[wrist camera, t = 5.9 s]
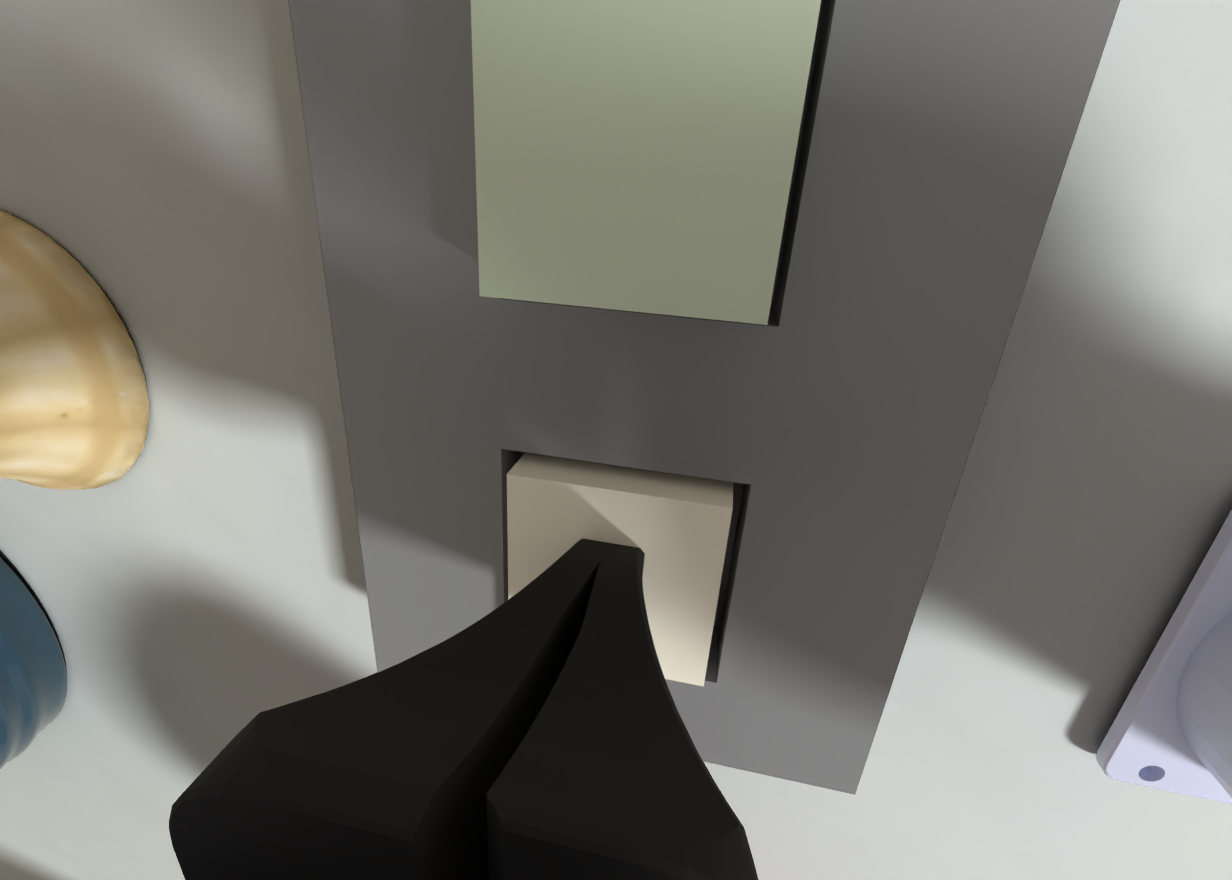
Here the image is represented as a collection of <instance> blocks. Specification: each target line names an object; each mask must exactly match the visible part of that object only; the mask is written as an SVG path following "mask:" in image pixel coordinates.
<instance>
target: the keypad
mask: <svg viewBox="0 0 1232 880" xmlns="http://www.w3.org/2000/svg"><path fill="white" fill-rule="evenodd" d="M288 1H289V9H290V16H291V24H292V31H293V39H294V46H295V54H296V61H297V69H298V76H299V84H300V91H301V99H302V106H303V114H304V122H305V129H306V137H307V144H308V152H309V159H310V167H311V174H312V182H313V189H314V197H315V204H316V212H317V219H318V227H319V235H320V242H321V250H322V257H323V265H324V272H325V280H326V287H327V295H328V302H329V310H330V317H331V325H332V333H333V340H334V348H335V355H336V363H337V370H338V378H339V385H340V393H341V400H342V408H343V415H344V423H345V430H346V438H347V446H348V453H349V461H350V468H351V476H352V483H353V491H354V498H355V506H356V513H357V521H358V528H359V536H360V544H361V551H362V559H363V566H364V574H365V581H366V589H367V596H368V604H369V611H370V619H371V626H372V634H373V641H374V649H375V657H376V664H377V672H380V671H382V670H385V669H387V668H389V667H392V666H394V665H396V664H399V663H401V662H403V661H405V660H407V659H409V658H411V657H413V656H415V655H417V654H419V653H421V652H423V651H425V650H427V649H429V648H431V647H433V646H435V645H437V644H439V643H441V642H443V641H445V640H447V639H449V638H450V637H452V636H454V635H456V634H457V633H459V632H461V631H462V630H464V629H466V628H468V627H469V626H471V625H472V624H474V623H475V622H477V621H479V620H480V619H482V618H483V617H485V616H486V615H488V614H489V613H491V612H492V611H493V610H495V609H496V608H497V607H499V606H500V605H502V604H503V603H504V602H506V601H507V600H508V535H507V473H508V472H509V471H510V470H511V469H512V467H513V466H514V465H515V464H516V463H517V462H518V460H519V459H520V458H521V457H522V456H523V455H524V453H525V452H527V453H534V454H541V455H548V456H555V457H562V458H569V459H576V460H583V461H590V462H597V463H604V464H611V465H618V466H625V467H632V468H639V469H646V470H653V471H660V472H666V473H673V474H680V475H687V476H694V477H701V478H708V479H715V480H722V481H729V482H733V510H732V516H731V522H730V528H729V534H728V540H727V546H726V553H725V559H724V565H723V571H722V577H721V583H720V589H719V596H718V602H717V608H716V614H715V620H714V626H713V632H712V638H711V645H710V651H709V657H708V663H707V669H706V675H705V681H704V687H703V686H698V685H693V684H688V683H683V682H678V681H673V680H668V679H665V680H666V683H667V686H668V688H669V691H670V693H671V696H672V698H673V701H674V703H675V705H676V708H677V710H678V712H679V714H680V716H681V719H682V721H683V723H684V725H685V727H686V729H687V731H688V733H689V735H690V737H691V739H692V741H693V743H694V745H695V747H696V749H697V751H698V753H699V755H700V757H701V759H702V760H703V761H705V762H709V763H714V764H719V765H723V766H728V767H732V768H737V769H741V770H746V771H750V772H755V773H759V774H764V775H768V776H773V777H778V778H782V779H787V780H791V781H796V782H800V783H805V784H809V785H814V786H818V787H823V788H827V789H832V790H837V791H841V792H846V793H850V794H855V793H856V790H857V787H858V784H859V781H860V778H861V775H862V772H863V769H864V766H865V763H866V760H867V757H868V754H869V751H870V748H871V745H872V742H873V739H874V736H875V733H876V730H877V727H878V724H879V721H880V718H881V715H882V712H883V709H884V706H885V703H886V700H887V697H888V694H889V691H890V688H891V685H892V682H893V679H894V676H895V673H896V670H897V667H898V664H899V661H900V658H901V655H902V652H903V649H904V646H905V643H906V640H907V637H908V634H909V631H910V628H911V625H912V622H913V619H914V616H915V613H916V610H917V607H918V604H919V601H920V598H921V595H922V592H923V589H924V586H925V583H926V580H927V577H928V574H929V571H930V568H931V565H932V562H933V559H934V556H935V553H936V550H937V547H938V544H939V541H940V538H941V535H942V532H943V529H944V526H945V523H946V520H947V517H948V514H949V511H950V508H951V505H952V502H953V499H954V496H955V493H956V490H957V488H958V485H959V482H960V479H961V476H962V473H963V470H964V467H965V464H966V461H967V458H968V455H969V452H970V449H971V446H972V443H973V440H974V437H975V434H976V431H977V428H978V425H979V422H980V419H981V416H982V413H983V410H984V407H985V404H986V401H987V398H988V395H989V392H990V389H991V386H992V383H993V380H994V377H995V374H996V371H997V368H998V365H999V362H1000V359H1001V356H1002V353H1003V350H1004V347H1005V344H1006V341H1007V338H1008V335H1009V332H1010V329H1011V326H1012V323H1013V320H1014V317H1015V314H1016V311H1017V308H1018V305H1019V302H1020V299H1021V296H1022V293H1023V290H1024V287H1025V284H1026V281H1027V278H1028V275H1029V272H1030V269H1031V266H1032V263H1033V260H1034V257H1035V254H1036V251H1037V248H1038V245H1039V242H1040V239H1041V236H1042V233H1043V230H1044V227H1045V224H1046V221H1047V218H1048V215H1049V212H1050V209H1051V206H1052V203H1053V200H1054V197H1055V194H1056V191H1057V188H1058V185H1059V182H1060V179H1061V176H1062V173H1063V170H1064V167H1065V164H1066V161H1067V158H1068V155H1069V152H1070V149H1071V146H1072V143H1073V140H1074V137H1075V134H1076V131H1077V128H1078V125H1079V122H1080V119H1081V116H1082V113H1083V110H1084V107H1085V104H1086V101H1087V98H1088V95H1089V92H1090V89H1091V86H1092V83H1093V80H1094V77H1095V74H1096V71H1097V68H1098V65H1099V62H1100V59H1101V56H1102V53H1103V50H1104V47H1105V44H1106V41H1107V38H1108V35H1109V32H1110V29H1111V26H1112V23H1113V20H1114V17H1115V14H1116V11H1117V8H1118V5H1119V2H1120V0H821V5H820V11H819V17H818V23H817V29H816V35H815V41H814V47H813V53H812V59H811V65H810V71H809V77H808V83H807V89H806V95H805V101H804V107H803V113H802V119H801V125H800V131H799V137H798V143H797V149H796V155H795V161H794V167H793V173H792V179H791V185H790V191H789V197H788V203H787V209H786V215H785V221H784V227H783V233H782V239H781V245H780V251H779V257H778V263H777V269H776V275H775V282H774V288H773V294H772V300H771V306H770V312H769V318H768V324H767V325H762V324H752V323H742V322H732V321H722V320H713V319H703V318H693V317H683V316H673V315H663V314H653V313H643V312H633V311H623V310H613V309H603V308H593V307H583V306H573V305H563V304H553V303H543V302H533V301H523V300H514V299H504V298H494V297H484V296H480V292H479V259H478V226H477V193H476V160H475V128H474V95H473V62H472V29H471V0H288Z"/></svg>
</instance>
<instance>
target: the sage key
mask: <svg viewBox="0 0 1232 880" xmlns="http://www.w3.org/2000/svg"><path fill="white" fill-rule="evenodd" d="M820 5H821V0H471V29H472V62H473V95H474V128H475V160H476V193H477V226H478V259H479V292H480V296H484V297H494V298H504V299H514V300H523V301H533V302H543V303H553V304H563V305H573V306H583V307H593V308H603V309H613V310H623V311H633V312H643V313H653V314H663V315H673V316H683V317H693V318H703V319H713V320H722V321H732V322H742V323H752V324H762V325H767V324H768V318H769V312H770V306H771V300H772V294H773V288H774V282H775V275H776V269H777V263H778V257H779V251H780V245H781V239H782V233H783V227H784V221H785V215H786V209H787V203H788V197H789V191H790V185H791V179H792V173H793V167H794V161H795V155H796V149H797V143H798V137H799V131H800V125H801V119H802V113H803V107H804V101H805V95H806V89H807V83H808V77H809V71H810V65H811V59H812V53H813V47H814V41H815V35H816V29H817V23H818V17H819V11H820Z"/></svg>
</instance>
